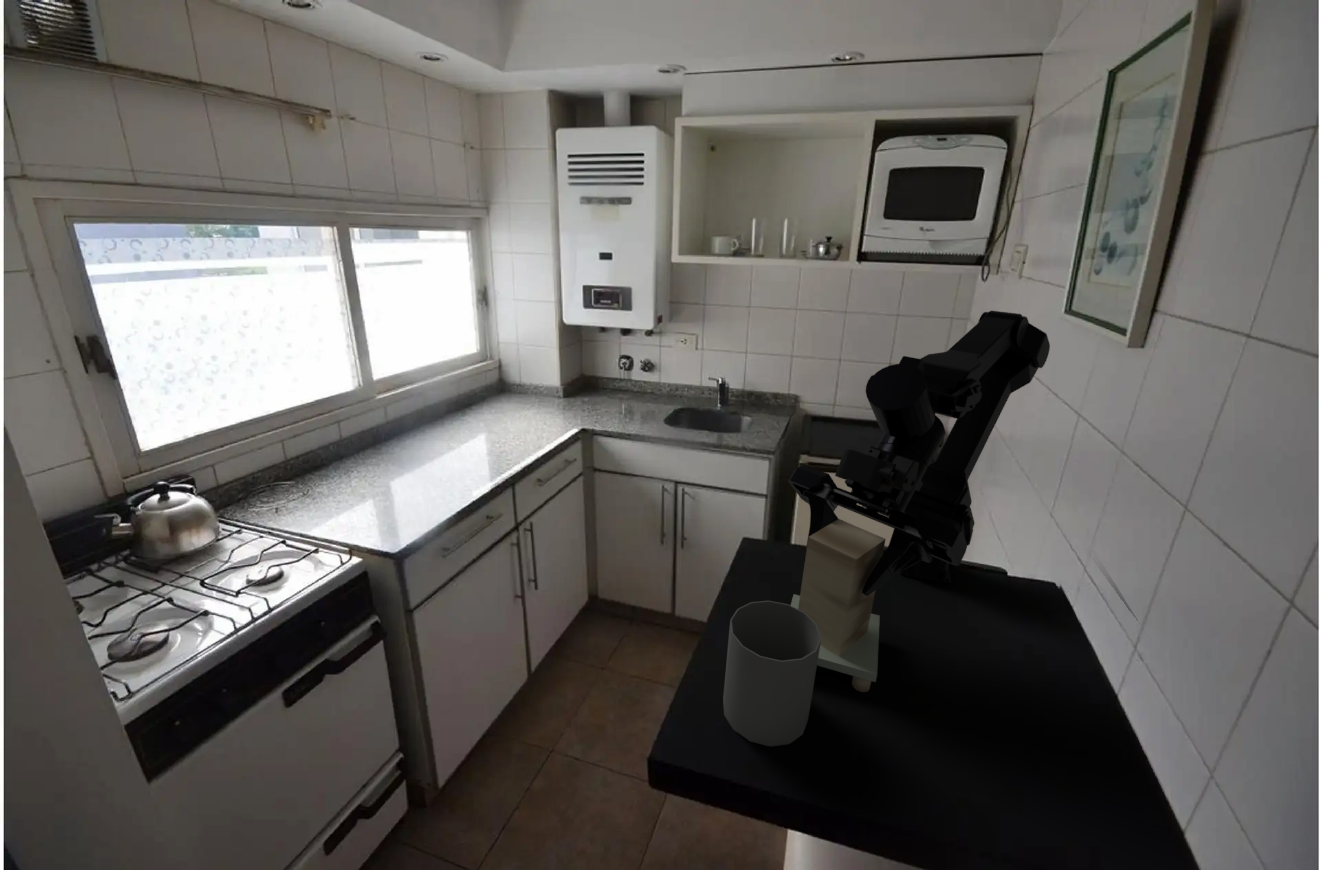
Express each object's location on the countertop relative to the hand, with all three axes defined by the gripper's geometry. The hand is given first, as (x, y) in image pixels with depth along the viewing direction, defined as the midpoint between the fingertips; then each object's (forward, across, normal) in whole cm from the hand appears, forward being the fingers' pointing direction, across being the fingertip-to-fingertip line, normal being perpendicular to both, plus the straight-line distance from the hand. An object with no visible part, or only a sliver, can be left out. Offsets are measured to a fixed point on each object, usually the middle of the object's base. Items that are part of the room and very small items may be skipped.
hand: (834, 578), depth 59 cm
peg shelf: (+6, 0, +8) cm, 11 cm away
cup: (+15, 0, 0) cm, 15 cm away
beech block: (+4, 0, +6) cm, 8 cm away
